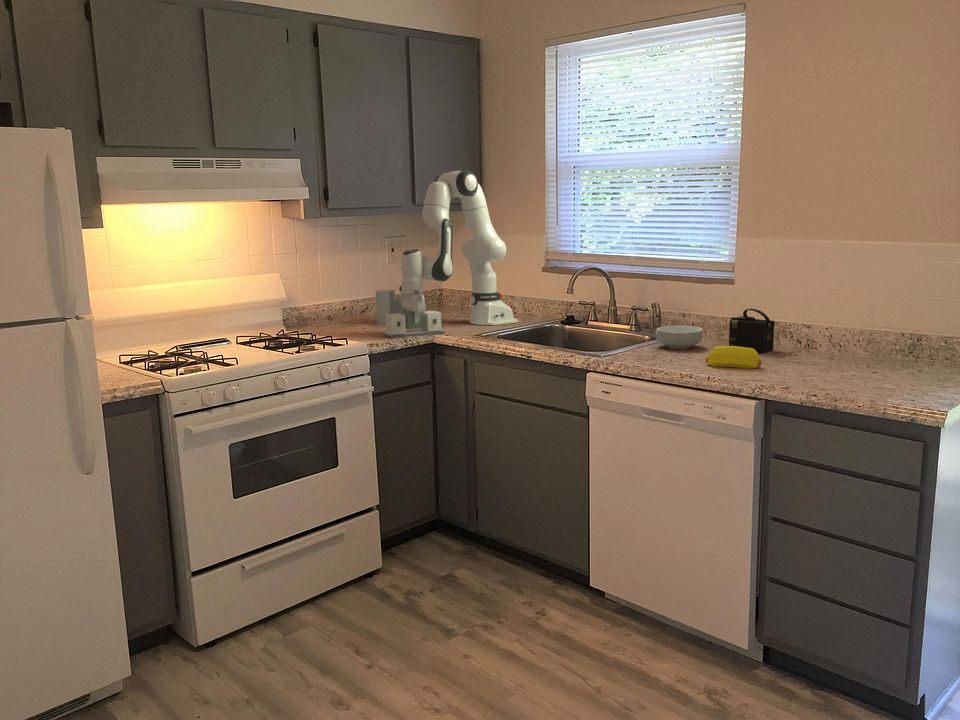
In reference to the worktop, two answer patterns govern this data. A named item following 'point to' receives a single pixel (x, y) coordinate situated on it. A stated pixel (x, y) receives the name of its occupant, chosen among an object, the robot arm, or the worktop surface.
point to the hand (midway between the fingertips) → (413, 321)
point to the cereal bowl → (679, 336)
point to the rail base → (398, 329)
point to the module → (412, 320)
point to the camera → (752, 332)
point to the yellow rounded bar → (733, 357)
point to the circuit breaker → (387, 305)
